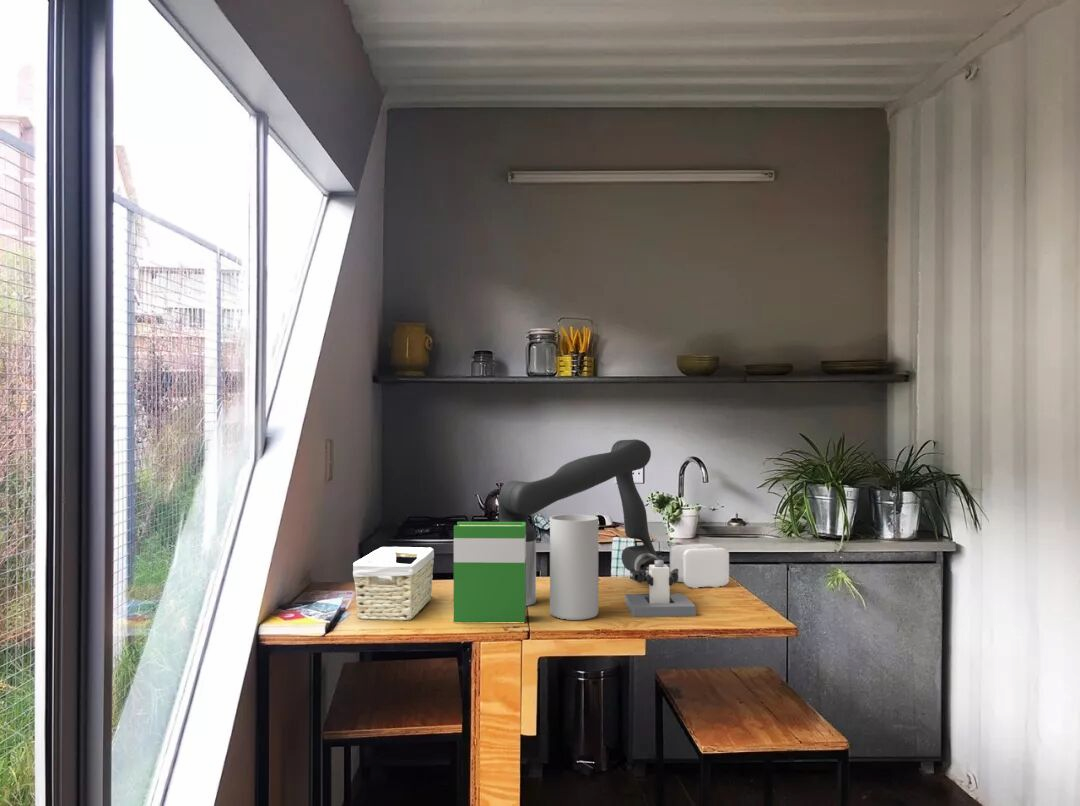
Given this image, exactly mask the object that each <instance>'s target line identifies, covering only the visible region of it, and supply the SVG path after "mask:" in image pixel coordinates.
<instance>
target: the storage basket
mask: <svg viewBox="0 0 1080 806" xmlns="http://www.w3.org/2000/svg"><path fill="white" fill-rule="evenodd" d="M434 551H435V550H434V548H432V547H431V546H430V547H417V546H416V547H415V546H414V547H412V546H381V547H379V548H377V549H375V550H373V551H372V552H370V553H369V554H367V555H364V556H363V557H362V558H359V559H357V560H356V561H354V562H353V564H352V565H353V566H352V569H353V570H352V576H353V581H354V586H355V587H354V589H355V602H356V603H355V604H356V608H357V609H356V610H357V618H359V619H361V620H380V621H381V620H383V621H384V620H385V621H395V620H396V621H410V620H412V619H414V617H415V616H416V615H417V614H418V613H419V612H420V611H421V610H422V609H423V608H424V607H425V606H426V605H427V604H428V603H429V602H430V601H431V600H432V599H431V598H433V596H432V594H433V593H432V588H433V587H432V586H433V577H434V576H433V570H434V562H435V561H434V560H435V559H434V558H435V552H434ZM400 557H401V558H416V559H415V560H413V562H412V563H399V562H397V558H400Z"/></svg>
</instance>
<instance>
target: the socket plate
mask: <svg viewBox="0 0 1080 806" xmlns="http://www.w3.org/2000/svg"><path fill="white" fill-rule="evenodd" d="M624 597H625V598H624V604H625V606H626V607H627V608H628V610H629V612H630V613H631V615H632V616H633V618H643V617H645V618H651V617H653V618H656V617H658V618H659V617H696V616H697V614H696V613H697V612H696V611H697V608H696V605H695V604H694V603H693V602H692V600H690V599H689V598H688V597H687V596H686V595H685V593H669V603H649V593H625V596H624Z"/></svg>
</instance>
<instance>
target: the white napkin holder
mask: <svg viewBox="0 0 1080 806" xmlns="http://www.w3.org/2000/svg"><path fill="white" fill-rule="evenodd" d="M674 569H679V579H678V581H677V583H678V582H679V583H680V582H684V583H683V584H684V585H685V586H687V587H689V588H691V587H692V588H696V589H699V588H698V587H703V588H705V587H711V588H713V587H714V588H717V587H716V586H722V587H723V586H725V585H727V584H728V583H729V582H730V552H729V551H728V550H727V549H726V548H723V547H716V546H715V545H713V544H710V543H699V544H697V543H695V544H692V543H691V544H676V545H672V547H670V549H669V571H671V572H672V570H674ZM692 588H691V589H692Z"/></svg>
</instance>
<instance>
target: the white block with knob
mask: <svg viewBox="0 0 1080 806" xmlns="http://www.w3.org/2000/svg"><path fill="white" fill-rule="evenodd" d="M669 571H670V566H668V565H667V564H665V563H664V560H663V559H659V560H655V565H649V574H650V575H651V576H652V577H653V586H650V585H649V584H648V590H649V591H648V592H649V593H648V594H649V603H669V594H670V586H669Z"/></svg>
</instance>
